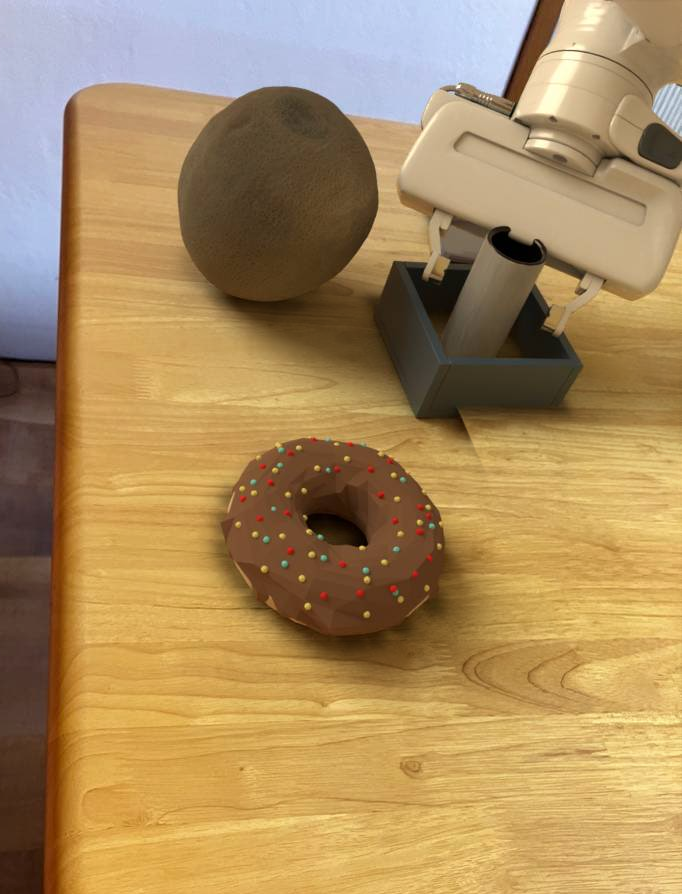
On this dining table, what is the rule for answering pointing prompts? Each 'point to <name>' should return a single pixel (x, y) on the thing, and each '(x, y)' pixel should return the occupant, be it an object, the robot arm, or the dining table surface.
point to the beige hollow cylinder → (492, 295)
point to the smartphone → (460, 246)
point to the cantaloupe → (276, 194)
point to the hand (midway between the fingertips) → (489, 307)
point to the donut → (328, 566)
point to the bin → (462, 378)
